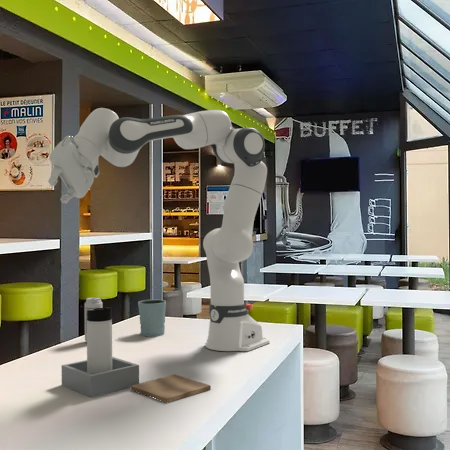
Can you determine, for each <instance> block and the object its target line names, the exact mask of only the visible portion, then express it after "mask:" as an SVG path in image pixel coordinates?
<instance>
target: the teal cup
mask: <svg viewBox="0 0 450 450" xmlns="http://www.w3.org/2000/svg"><path fill="white" fill-rule="evenodd" d="M137 305H138V313H139V325H140V334H141V336H144V337H159V336H163V335H165V332H166V331H165V329H166V327H165V322H166V306H167V301H166V300H164V299H143V300H140V301H138V302H137Z"/></svg>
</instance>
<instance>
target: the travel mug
mask: <svg viewBox="0 0 450 450" xmlns="http://www.w3.org/2000/svg"><path fill="white" fill-rule="evenodd" d="M112 309H113V307H111V306H108V307H103V308H96V309H94V310H87V342H86V360H87V373H89V374H92V375H93V374H97V373H101V372H106V371H110V370H112V357H113V322H112V321H113V317H112V314H113V313H112V311H113V310H112Z"/></svg>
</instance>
